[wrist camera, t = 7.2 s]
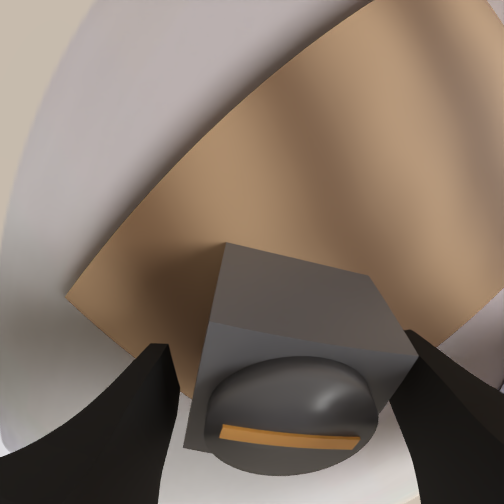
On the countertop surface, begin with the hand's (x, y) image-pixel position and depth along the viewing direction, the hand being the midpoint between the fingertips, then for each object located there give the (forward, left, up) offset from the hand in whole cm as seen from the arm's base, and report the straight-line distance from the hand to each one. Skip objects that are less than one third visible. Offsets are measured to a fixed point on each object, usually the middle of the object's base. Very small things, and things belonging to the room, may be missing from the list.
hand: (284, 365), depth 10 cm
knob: (0, 0, -2) cm, 2 cm away
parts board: (+3, -3, -4) cm, 6 cm away
